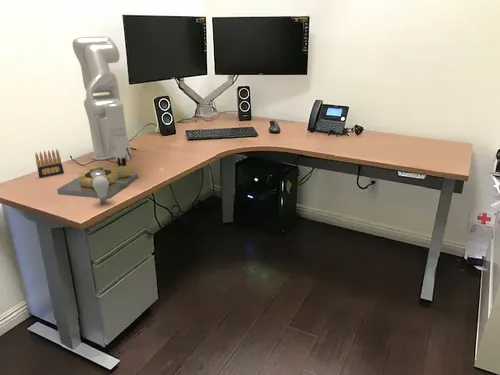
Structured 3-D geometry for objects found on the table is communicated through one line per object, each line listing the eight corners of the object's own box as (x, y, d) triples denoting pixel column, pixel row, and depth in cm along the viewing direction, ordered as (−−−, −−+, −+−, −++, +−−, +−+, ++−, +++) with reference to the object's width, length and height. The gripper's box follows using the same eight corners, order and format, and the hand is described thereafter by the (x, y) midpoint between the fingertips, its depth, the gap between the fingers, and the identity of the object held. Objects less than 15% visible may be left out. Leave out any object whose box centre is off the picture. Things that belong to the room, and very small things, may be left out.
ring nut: (128, 169, 194) (126, 159, 192) (134, 180, 181) (132, 169, 179) (78, 177, 186) (76, 167, 184) (81, 189, 173) (79, 178, 171)
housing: (91, 174, 197) (89, 161, 194) (140, 177, 191) (138, 165, 188) (58, 193, 175) (55, 180, 173) (111, 198, 169) (109, 184, 167)
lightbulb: (113, 199, 169) (109, 173, 165) (109, 205, 163) (105, 178, 159) (98, 199, 169) (93, 173, 164) (93, 205, 163) (88, 179, 159)
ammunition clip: (39, 178, 193) (33, 153, 189) (38, 177, 195) (33, 152, 190) (64, 173, 198) (59, 149, 194) (63, 172, 200) (58, 148, 195)
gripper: (99, 130, 183) (105, 170, 190) (121, 135, 175) (126, 177, 182) (113, 127, 189) (119, 165, 196) (135, 131, 180) (140, 171, 188)
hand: (123, 171), depth 189 cm, fingers closed
